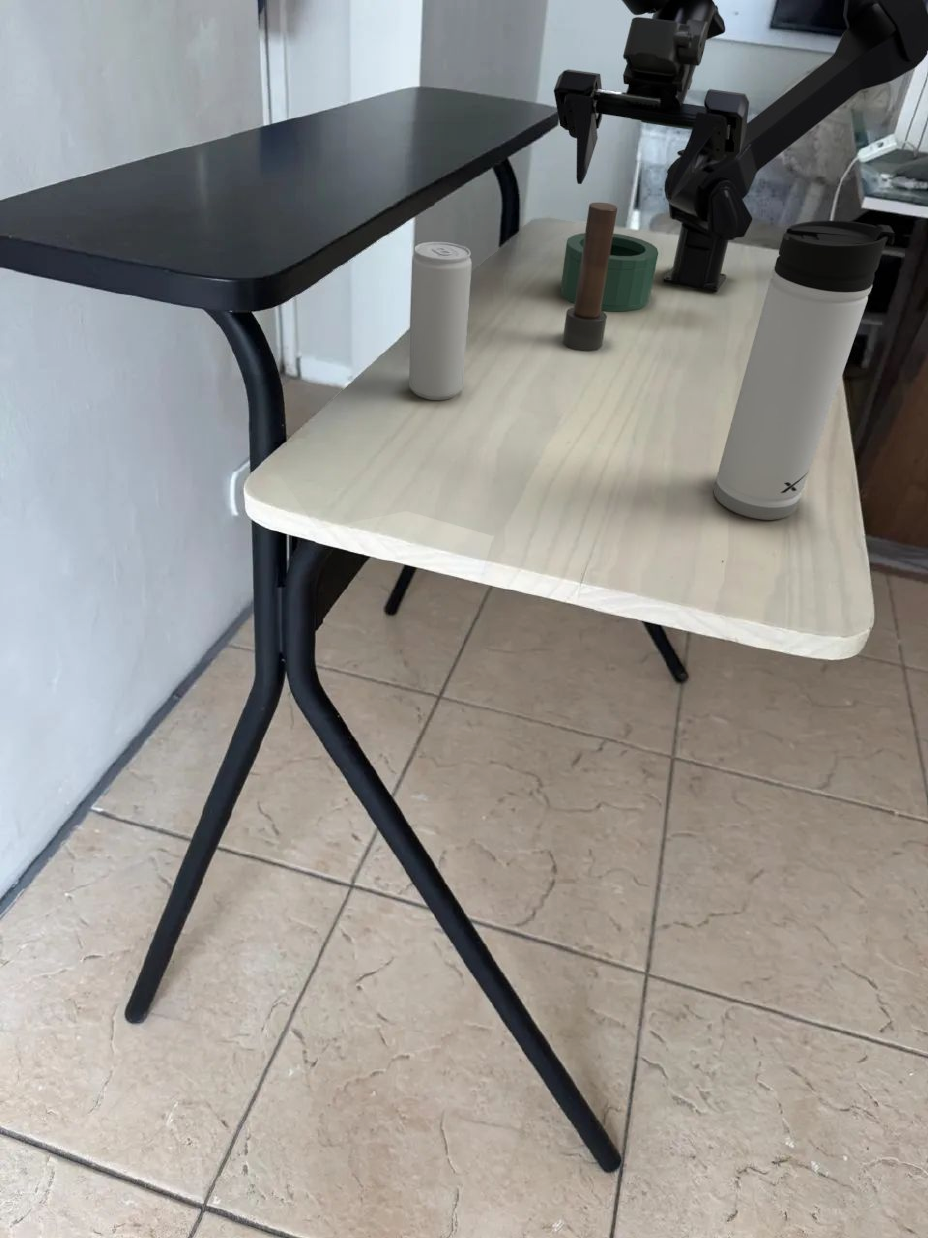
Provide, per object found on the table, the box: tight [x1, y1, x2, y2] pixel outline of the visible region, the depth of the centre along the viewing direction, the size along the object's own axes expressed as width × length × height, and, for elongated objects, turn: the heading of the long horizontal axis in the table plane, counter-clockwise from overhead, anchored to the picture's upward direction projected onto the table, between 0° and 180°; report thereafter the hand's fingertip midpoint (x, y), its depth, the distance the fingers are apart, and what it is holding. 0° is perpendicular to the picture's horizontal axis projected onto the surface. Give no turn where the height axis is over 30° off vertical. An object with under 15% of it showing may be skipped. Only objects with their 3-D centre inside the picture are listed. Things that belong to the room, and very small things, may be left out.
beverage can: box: [408, 241, 473, 401], centre depth 78 cm, size 5×5×12 cm
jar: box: [560, 232, 659, 312], centre depth 103 cm, size 10×10×6 cm
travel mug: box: [712, 220, 896, 521], centre depth 64 cm, size 6×7×20 cm
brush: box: [562, 202, 618, 352], centre depth 89 cm, size 4×4×13 cm
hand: (623, 188), depth 90 cm, fingers open, 9 cm apart
